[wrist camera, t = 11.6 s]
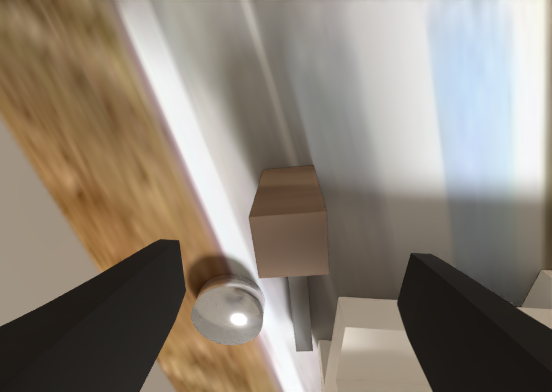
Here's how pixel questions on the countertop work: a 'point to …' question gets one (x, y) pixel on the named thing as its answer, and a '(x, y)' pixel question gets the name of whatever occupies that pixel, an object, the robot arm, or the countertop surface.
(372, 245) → the countertop surface
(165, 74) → the countertop surface
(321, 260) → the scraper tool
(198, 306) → the steel puck
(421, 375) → the stepped stand
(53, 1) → the countertop surface
